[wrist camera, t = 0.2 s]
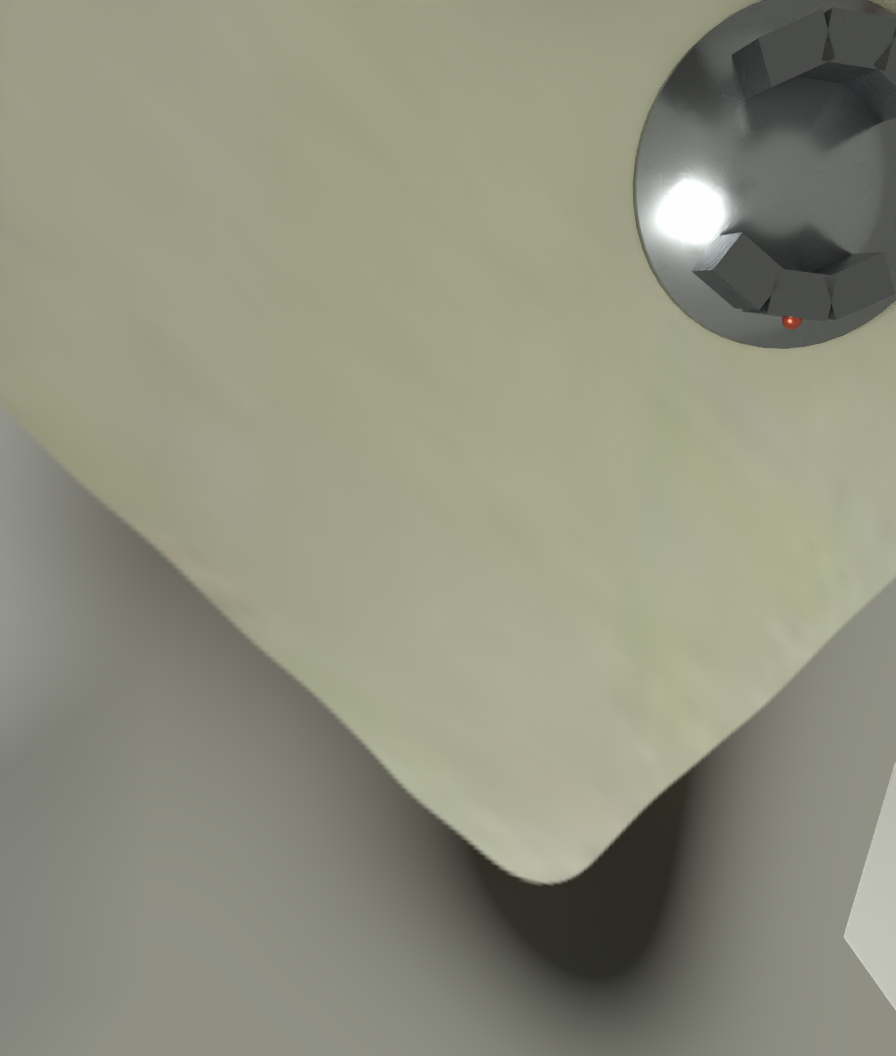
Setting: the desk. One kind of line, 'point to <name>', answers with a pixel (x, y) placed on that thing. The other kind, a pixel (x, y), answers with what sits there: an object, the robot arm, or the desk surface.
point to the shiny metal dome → (776, 173)
